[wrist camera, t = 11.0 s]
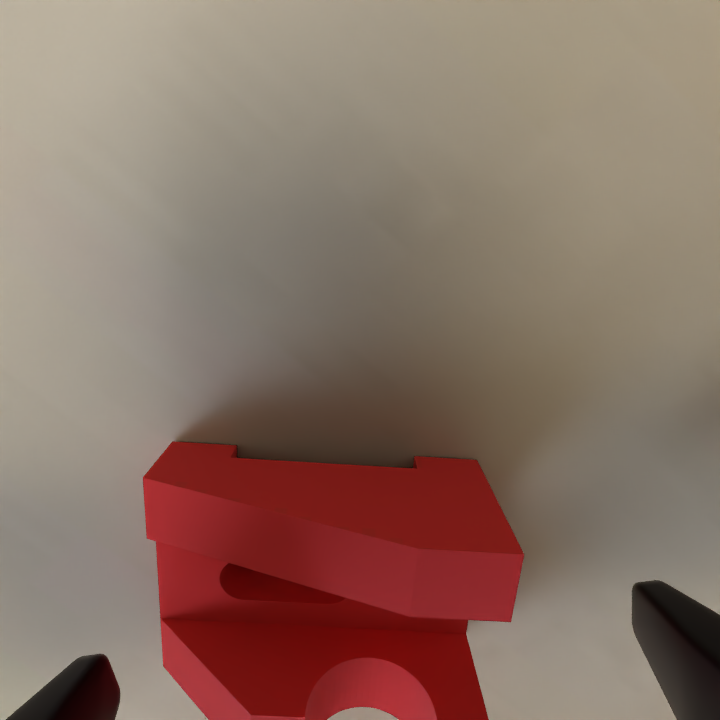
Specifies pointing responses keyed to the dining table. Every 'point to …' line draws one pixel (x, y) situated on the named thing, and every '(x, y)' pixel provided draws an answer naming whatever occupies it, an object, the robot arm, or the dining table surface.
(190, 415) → the dining table surface
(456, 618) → the bracket
